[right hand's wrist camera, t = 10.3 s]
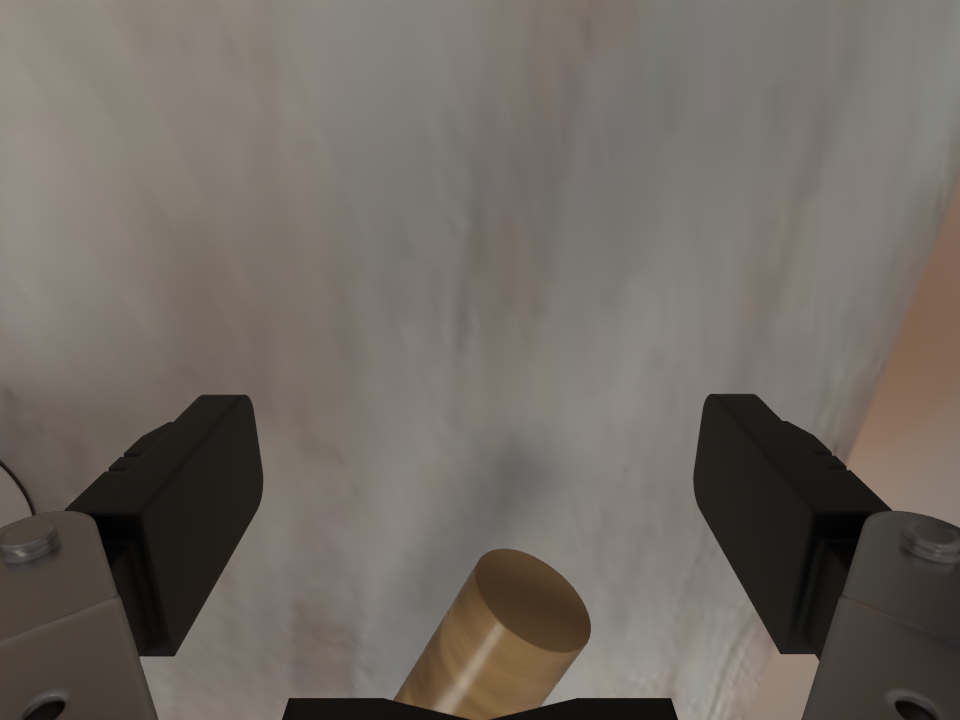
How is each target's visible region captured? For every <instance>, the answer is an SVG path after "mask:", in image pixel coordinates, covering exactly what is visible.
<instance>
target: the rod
mask: <svg viewBox="0 0 960 720" xmlns="http://www.w3.org/2000/svg"><path fill="white" fill-rule="evenodd" d="M590 633H591V624H590V618H589V615H588V612H587V609H586V607H585V605H584V603H583V601H582V599H581V598H580V596H579V595H578V593H577V592H576V591H575V589H574V588H573V587H572V586H571V585H570V583H569V582H568V581H567V580H566V579H565V578H564V577H563V576H562V575H560V574H559V573H558V572H557V571H556V570H554V569H553V568H552V567H550V566H549V565H548V564H546V563H544V562H543V561H541V560H539V559H537V558H536V557H533V556H531V555H529V554H526V553H524V552H520V551H517V550H511V549H496V550H492V551H490V552H488V553H486V554H485V555H483V556H482V557H481V558H480V559H479V561H478V563H477V564H476V566H475V567H474V569H473V571H472V572H471V574H470V576H469V577H468V579H467V580H466V582H465V584H464V585H463V587H462V589H461V590H460V592H459V594H458V595H457V597H456V598H455V600H454V602H453V603H452V605H451V607H450V608H449V610H448V612H447V613H446V615H445V616H444V618H443V620H442V621H441V623H440V625H439V626H438V628H437V629H436V631H435V633H434V634H433V636H432V638H431V639H430V641H429V643H428V644H427V646H426V647H425V649H424V651H423V652H422V654H421V656H420V657H419V659H418V660H417V662H416V664H415V665H414V667H413V669H412V670H411V672H410V674H409V675H408V677H407V678H406V680H405V682H404V683H403V685H402V687H401V688H400V690H399V691H398V693H397V695H396V696H395V698H394V700H393V701H396V702H401V703H405V704H409V705H413V706H417V707H421V708H425V709H429V710H434V711H438V712H442V713H446V714H450V715H454V716H458V717H462V718H467V719H471V720H489V719H493V718H498V717H502V716H506V715H510V714H514V713H518V712H522V711H526V710H531V709H535V708H539V707H541V705H542V704H543V702H544V701H545V700H546V698H547V697H548V696H549V694H550V693H551V692H552V690H553V689H554V688H555V686H556V685H557V683H558V682H559V681H560V679H561V678H562V677H563V675H564V674H565V673H566V671H567V670H568V668H569V667H570V666H571V664H572V663H573V662H574V660H575V659H576V658H577V656H578V655H579V654H580V652H581V651H582V649H583V648H584V647H585V645H586V644H587V643H588V640H589V638H590Z"/></svg>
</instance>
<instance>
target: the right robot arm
mask: <svg viewBox="0 0 960 720" xmlns="http://www.w3.org/2000/svg"><path fill="white" fill-rule="evenodd" d="M693 481H694V493H695V498H696V502H697V505H698V507H699V509H700V511H701V513H702V514H703V516H704V518H705V520H706V522H707V523H708V525H709V527H710V529H711V531H712V532H713V534H714V536H715V538H716V539H717V541H718V543H719V545H720V547H721V548H722V550H723V552H724V554H725V556H726V557H727V559H728V561H729V563H730V565H731V566H732V568H733V570H734V572H735V573H736V575H737V577H738V579H739V581H740V582H741V584H742V586H743V588H744V590H745V591H746V593H747V595H748V597H749V599H750V600H751V602H752V604H753V606H754V607H755V609H756V611H757V613H758V615H759V616H760V618H761V620H762V622H763V624H764V625H765V627H766V629H767V631H768V633H769V634H770V636H771V638H772V640H773V641H774V643H775V645H776V647H777V649H778V650H779V652H780V654H815V655H816V656H817V658H818V660H819V665H818V668H817V671H816V674H815V678H814V681H813V684H812V687H811V691H810V694H809V697H808V700H807V703H806V707H805V710H804V713H803V717H802V720H960V528H959V527H957V526H955V525H952V524H950V523H947V522H945V521H942V520H939V519H936V518H933V517H930V516H926V515H922V514H917V513H912V512H904V511H892V510H891V509H890V508H889V507H888V506H887V505H886V504H885V503H884V502H883V501H882V500H881V499H880V498H879V497H878V496H877V495H876V494H875V493H874V492H873V491H872V490H870V489H869V488H868V487H867V486H866V485H865V484H864V483H863V482H862V481H861V480H860V479H859V478H858V477H857V476H856V475H855V474H854V473H853V472H852V471H851V470H847V469H846V466H845V465H844V464H843V463H842V462H841V461H840V460H839V459H838V458H837V457H836V456H832V452H831V451H830V450H829V449H828V448H827V447H825V446H824V445H823V444H822V443H821V442H820V441H819V440H818V439H817V438H816V437H815V436H814V435H812V434H810V433H808V432H806V431H805V430H803V429H801V428H799V427H797V426H795V425H793V424H791V423H790V422H788V421H782V420H781V419H780V418H779V417H778V416H777V415H776V414H775V413H774V412H773V411H772V410H771V409H770V408H769V407H768V406H767V405H766V404H765V403H764V402H763V401H762V400H761V399H760V398H759V397H758V396H757V395H755V394H710V395H709V396H708V397H707V398H706V400H705V403H704V406H703V412H702V419H701V426H700V433H699V440H698V446H697V453H696V460H695V467H694V478H693ZM262 492H263V470H262V463H261V457H260V450H259V443H258V436H257V429H256V422H255V416H254V409H253V405H252V402H251V400H250V398H249V397H248V396H247V395H201V396H199V397H198V398H197V399H196V400H195V401H194V402H193V403H192V404H191V405H190V406H189V407H188V408H187V409H186V410H185V411H184V412H183V413H182V414H181V415H180V416H179V417H178V418H177V419H176V420H175V421H174V422H168V423H167V424H165V425H163V426H161V427H159V428H157V429H155V430H153V431H151V432H150V433H148V434H146V435H144V436H142V437H141V438H140V439H139V440H138V441H137V442H136V443H135V444H133V445H132V446H131V447H130V448H129V449H128V450H127V451H126V452H125V453H124V457H120V458H119V459H118V460H117V461H116V462H114V463H113V464H112V465H111V466H110V467H109V471H108V472H104V473H103V474H102V475H101V476H100V477H99V478H98V479H97V480H95V481H94V482H93V483H92V484H91V485H90V486H89V487H88V488H87V489H86V490H85V491H84V492H83V493H82V494H81V495H80V496H79V497H78V498H76V499H75V500H74V501H73V502H72V503H71V504H70V505H69V506H68V507H67V508H66V509H65V510H64V511H56V512H48V513H43V514H38V515H34V516H30V517H27V518H24V519H21V520H18V521H15V522H13V523H10V524H8V525H5V526H3V527H1V528H0V720H158V716H157V713H156V710H155V707H154V703H153V700H152V697H151V694H150V691H149V687H148V684H147V681H146V678H145V674H144V671H143V668H142V665H141V662H140V658H139V657H140V656H175V655H176V653H177V651H178V649H179V647H180V646H181V644H182V642H183V640H184V639H185V637H186V635H187V633H188V632H189V630H190V628H191V626H192V625H193V623H194V621H195V619H196V617H197V616H198V614H199V612H200V610H201V609H202V607H203V605H204V603H205V602H206V600H207V598H208V596H209V594H210V593H211V591H212V589H213V587H214V586H215V584H216V582H217V580H218V579H219V577H220V575H221V573H222V571H223V570H224V568H225V566H226V564H227V563H228V561H229V559H230V557H231V556H232V554H233V552H234V550H235V549H236V547H237V545H238V543H239V541H240V540H241V538H242V536H243V534H244V533H245V531H246V529H247V527H248V526H249V524H250V522H251V520H252V518H253V517H254V515H255V513H256V511H257V509H258V507H259V505H260V502H261V498H262ZM282 720H471V719H467V718H462V717H458V716H454V715H450V714H446V713H442V712H438V711H434V710H429V709H425V708H421V707H417V706H413V705H409V704H405V703H401V702H396V701H392V700H388V699H384V698H289V700H288V703H287V706H286V709H285V712H284V715H283V718H282ZM489 720H678V718H677V715H676V712H675V709H674V706H673V703H672V700H671V698H576V699H572V700H568V701H564V702H559V703H555V704H551V705H547V706H543V707H539V708H535V709H531V710H526V711H522V712H518V713H514V714H510V715H506V716H502V717H498V718H493V719H489Z"/></svg>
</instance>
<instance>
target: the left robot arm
mask: <svg viewBox="0 0 960 720" xmlns="http://www.w3.org/2000/svg"><path fill="white" fill-rule="evenodd" d="M30 516H32V513H31V510H30V507H29V505H28V502H27V500H26V498H25V496H24V495H23V493H22V491H21V490H20V488H19V487H18V485H17V484H16V482H15V481H14V480H13V479H12V477H11V476H10V475H9V474H8V473H7V472H6V471H5V470H4V469H3V468H2V467H1V466H0V528H1V527H3V526H5V525H8V524H10V523H13V522H15V521H18V520H21V519H24V518H27V517H30Z"/></svg>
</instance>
